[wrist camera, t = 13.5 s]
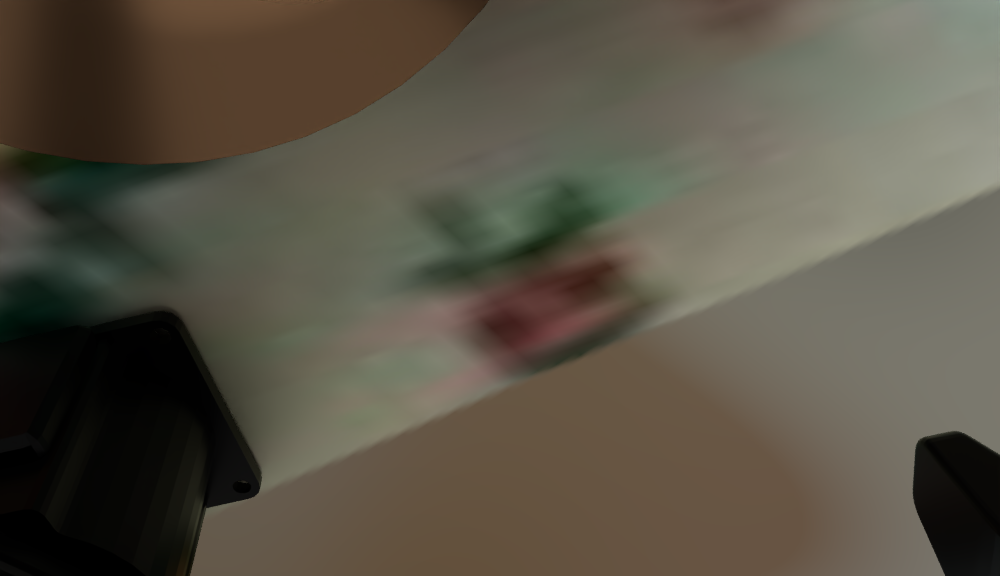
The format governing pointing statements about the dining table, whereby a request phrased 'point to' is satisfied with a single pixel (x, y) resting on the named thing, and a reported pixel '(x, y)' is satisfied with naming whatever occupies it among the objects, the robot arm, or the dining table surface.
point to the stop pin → (204, 71)
